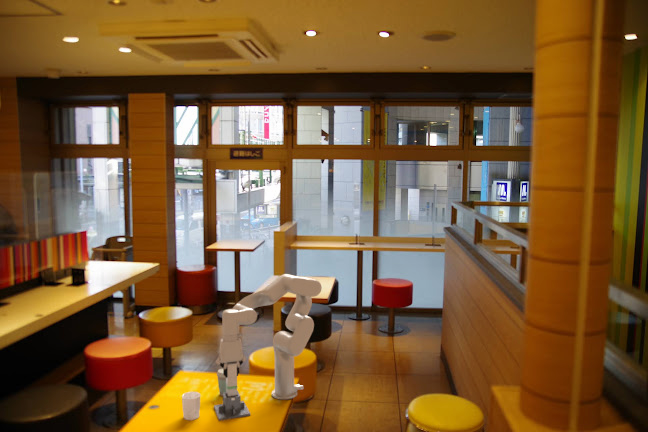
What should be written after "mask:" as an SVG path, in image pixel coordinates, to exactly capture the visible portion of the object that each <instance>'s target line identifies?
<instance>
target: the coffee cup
mask: <svg viewBox="0 0 648 432" xmlns="http://www.w3.org/2000/svg"><path fill="white" fill-rule="evenodd" d="M216 376H217V382H218V389H219V390H218V391H219V396H221V397H223V393H225V392H226V377H225V375H224V374H223V368H222V367H221V368H219V369H218V370H217V373H216Z"/></svg>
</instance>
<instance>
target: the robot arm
mask: <svg viewBox="0 0 648 432" xmlns="http://www.w3.org/2000/svg"><path fill="white" fill-rule="evenodd" d="M321 292H322V284H321V282H320V281H319V280H318V279H314V278H310V277H307V276H297V275H293V274H289V273H283V274H281V275H279V276H278V278H276V279H275V280H273V281H272V282H271V283H269V284H268V285H267V286H266V287H264V288H263V289H261V290H258V291H256V292H253V293H251V294H249V295H247V296H245V297H243V298H242V299H240V300H239V301H238V302H237V303H236V304H235V305H234V306H233V307H232V308H228V309H224V310H222V311H223V312H222V314H221V315H222V316H221V318H222V319H221V320H222V338H221V339H220V342H219V352H218V353H219V355H218V357H217V359H216V360H215V364H216V365H218V366H219V367H221V368H223V374H224V375H225V377H226V378H227V363H228V362H236V363H237V377H238V376H239V374H240V367H241V366H242V364H243V363H244V362H246V361H247V357H246V356H245V354H244V353H243V352H244V351H243V345H242V340H241V337H243V332H240V326H246V325H247V326H248V325H252V324H254V323H256V321H257V319H258V313H257V311H255V309H256V308H258V307H263V306H271V305H273V304H276V303H277V302H278V301H279V300H280V299H282V297H284V296H285V295H286V294H289V293H290V294H292V295H295V301H294V304H293V306H292V307H291V310H290V311H289V313H288V315H287V317H286V319H285V322H284V323H285V324H284V325H285V327H286V329H288V330H289V331H292V332H293V333H292V332H289V331H285V330H280V331H278V332H276V333H275V334H274V336H273V339H272V346H273V347H272V348H273V352H274V389H273V390H272V391H271V396H272V397H273V398H274V399H277V400H291V399H294V398H295V397H297V396H298V390H304V385H300V384H299V383H298V384H295V357H298V356H300V355H301V354H302V353H303V351H304V350H305V348H306V346H307V343H308V342H309V340H310V338H311V336H312V334H313V332H314V327H315V323H314V320H313V318H312V317H311V316H308V315H309V313H310V311H311V308H312V307H313V306H312V305H313V303H312V302H313V301H312V300H313V299H312V298H315V297H317V296H319V295H320V293H321Z"/></svg>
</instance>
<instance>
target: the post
mask: <svg viewBox="0 0 648 432" xmlns="http://www.w3.org/2000/svg"><path fill="white" fill-rule="evenodd" d="M237 391H238V376H237V363H236V362H228V363H227V378H226V396H227V398H229V397H235V396H237Z"/></svg>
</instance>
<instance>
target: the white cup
mask: <svg viewBox="0 0 648 432" xmlns="http://www.w3.org/2000/svg"><path fill="white" fill-rule="evenodd" d="M181 400H182V401H181V402H182V412H183V413H182V414H183V419H184V420H187V421H194V420H196V419H198V418H199V417H200V407H201V393H200V392H198V391H188V392H184V393H183V394H182V396H181Z"/></svg>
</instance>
